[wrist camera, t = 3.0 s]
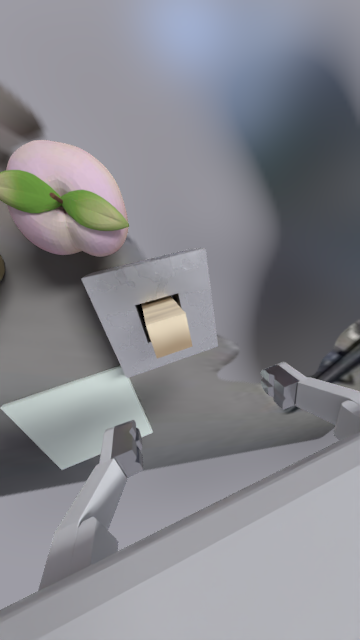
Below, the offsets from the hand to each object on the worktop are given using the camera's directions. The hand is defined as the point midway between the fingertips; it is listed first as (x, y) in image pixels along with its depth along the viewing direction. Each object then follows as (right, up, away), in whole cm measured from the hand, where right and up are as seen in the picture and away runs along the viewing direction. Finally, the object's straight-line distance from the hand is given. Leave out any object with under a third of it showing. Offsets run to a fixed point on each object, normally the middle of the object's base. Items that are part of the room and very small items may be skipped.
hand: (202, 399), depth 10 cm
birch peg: (-5, +7, +16) cm, 18 cm away
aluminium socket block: (-5, +7, +16) cm, 18 cm away
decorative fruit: (-12, +17, +10) cm, 23 cm away
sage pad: (-18, -13, +20) cm, 30 cm away
